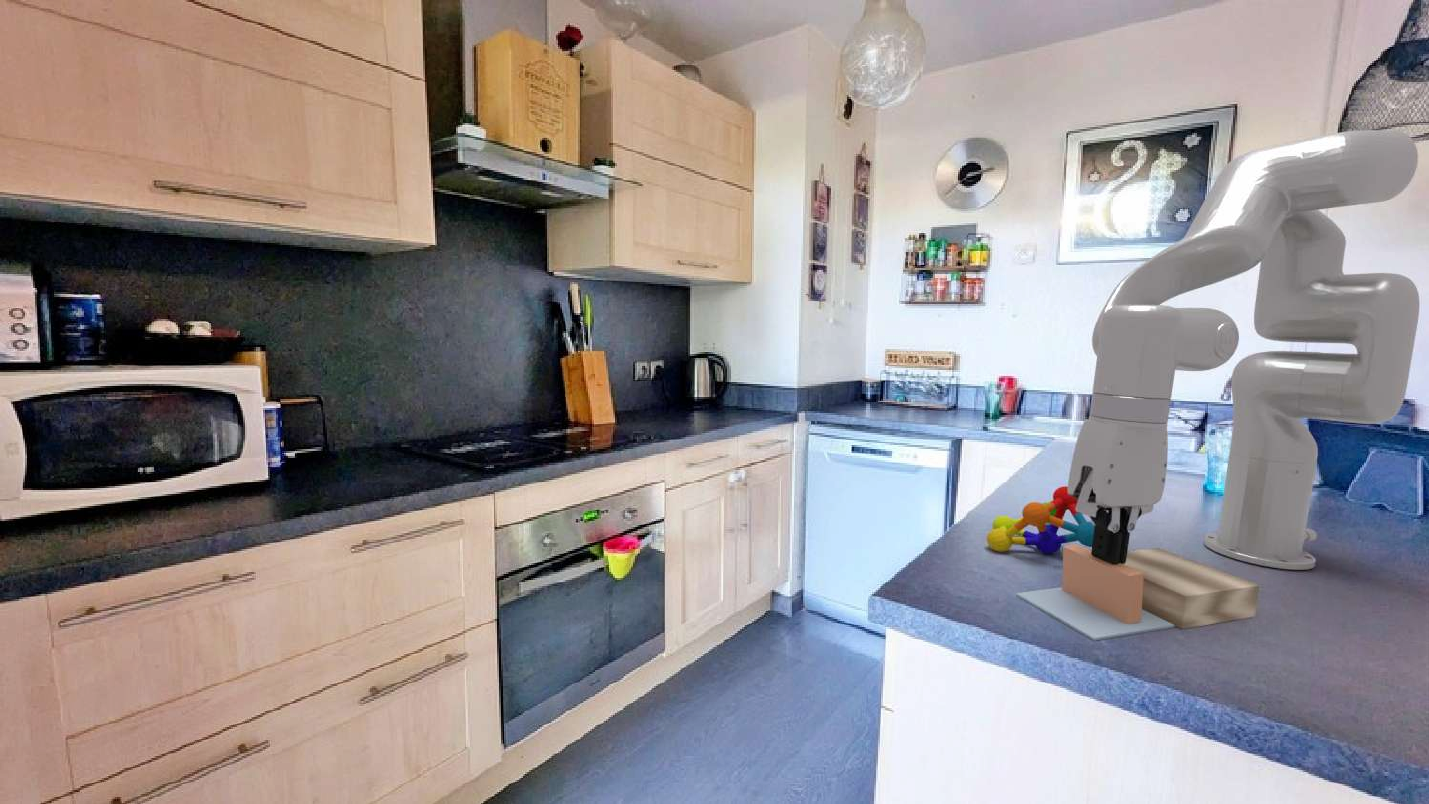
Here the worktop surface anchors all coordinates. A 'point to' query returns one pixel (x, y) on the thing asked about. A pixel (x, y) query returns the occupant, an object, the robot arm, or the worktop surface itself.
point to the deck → (1191, 590)
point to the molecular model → (1042, 526)
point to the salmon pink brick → (1103, 584)
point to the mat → (1089, 615)
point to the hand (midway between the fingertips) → (1107, 559)
